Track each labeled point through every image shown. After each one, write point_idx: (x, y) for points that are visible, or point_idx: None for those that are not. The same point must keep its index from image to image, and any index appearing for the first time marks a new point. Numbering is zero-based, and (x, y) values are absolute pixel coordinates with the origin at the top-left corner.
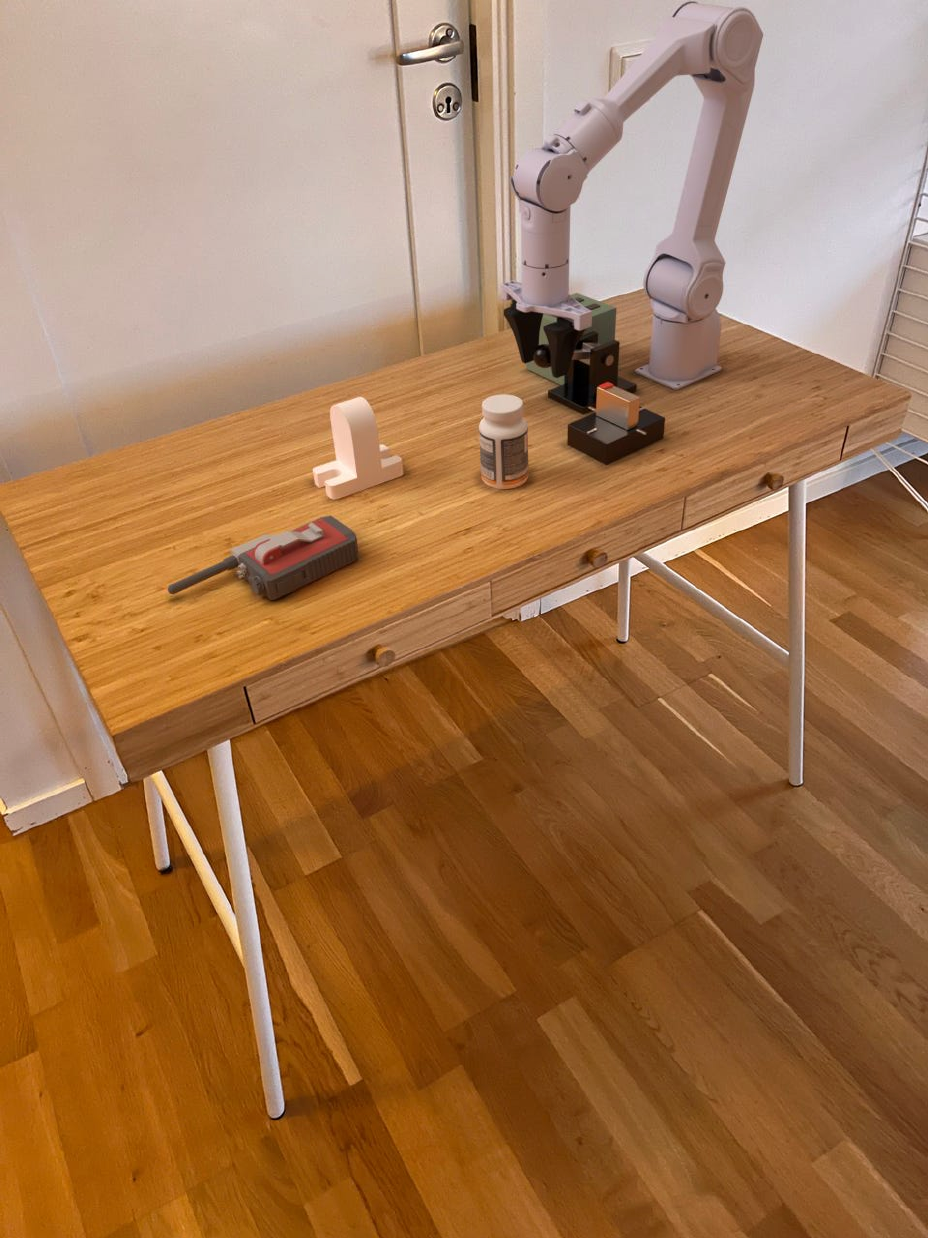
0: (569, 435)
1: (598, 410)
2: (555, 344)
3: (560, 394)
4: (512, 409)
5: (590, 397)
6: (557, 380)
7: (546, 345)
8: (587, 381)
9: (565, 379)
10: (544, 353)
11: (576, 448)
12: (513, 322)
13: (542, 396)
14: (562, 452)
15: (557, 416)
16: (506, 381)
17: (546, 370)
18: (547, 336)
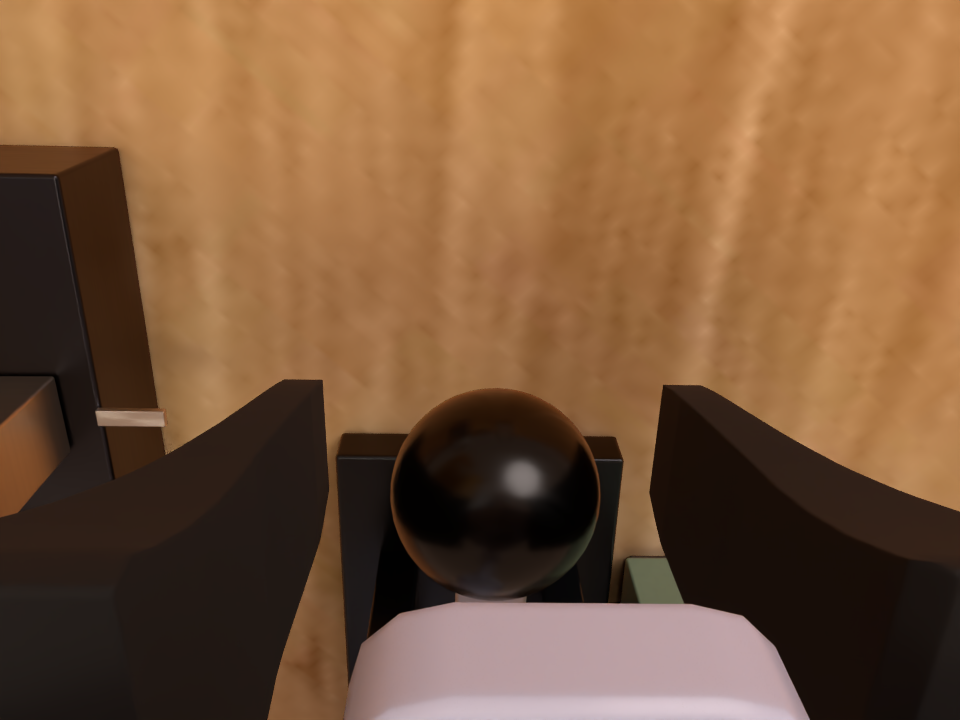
0: (68, 159)
1: (12, 392)
2: (61, 503)
3: None
4: None
5: (398, 548)
6: None
7: (476, 557)
8: None
9: (630, 587)
10: (430, 473)
11: (34, 148)
12: (896, 531)
13: (654, 432)
14: (68, 71)
15: (428, 340)
16: (930, 416)
17: None
18: (160, 529)
